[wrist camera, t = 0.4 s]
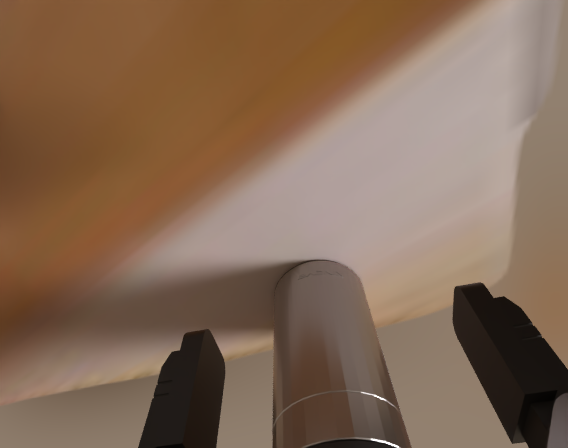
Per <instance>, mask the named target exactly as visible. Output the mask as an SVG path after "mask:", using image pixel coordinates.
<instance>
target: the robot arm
mask: <svg viewBox="0 0 568 448" xmlns="http://www.w3.org/2000/svg"><path fill="white" fill-rule="evenodd" d="M453 326H454V330H455V333H456V335H457V338H458V340H459V342H460V344H461V346H462V347H463V350H464V352H465V353H466V355H467V357H468V359H469V361H470V363H471V365H472V367H473V369H474V371H475V373H476V375H477V377H478V379H479V381H480V383H481V384H482V386H483V388H484V390H485V392H486V394H487V396H488V398H489V400H490V402H491V404H492V405H493V408H494V409H495V412H496V413H497V415H498V417H499V419H500V421H501V423H502V425H503V427H504V429H505V431H506V432H507V435H508V436H509V439H510V441H511V442H512V444H513V443H522V442H526V443H527V445H528V447H529V448H568V369H567V368H566V367H565V365H564V364H563V363H562V361H561V360H560V359H559V357H558V356H557V355H556V353H555V352H554V351H553V350H552V348H551V347H550V346H549V344H548V343H547V342H546V340H545V339H544V338H542V336H541V334H540V332H539V331H538V330H537V328H536V327H535V326H533V325H532V322H531V321H530V319H529V318H528V317H527V315H526V314H525V313H524V311H523V310H522V309H521V308H520V307H519V306H517V305H516V304H514V303H513V302H512V301H510V300H509V299H507V298H506V297H504V296H503V297H498V298H493V296H492V295H491V294H490V292H489V291H488V289H487V288H486V287H485V285H484V284H483V283H481V282H480V283H473V284H468V285H462V286H456V287H455V289H454V302H453ZM224 380H225V363H224V359H223V356H222V354H221V352H220V350H219V348H218V346H217V344H216V342H215V339H214V337H213V335H212V333H211V332H210V330H209V329H206V330H200V331H194V332H188V333H186V334H185V335H184V337H183V341H182V345H181V348H180V351H174V352H171V354H170V355H169V357H168V358H167V360H166V361H165V363H164V364H163V366H162V368H161V372H160V375H159V379H158V385H157V386H156V389H155V392H154V398H153V399H152V402H151V406H150V410H149V413H148V417H147V419H146V423H145V426H144V430H143V433H142V437H141V440H140V443H139V447H138V448H216V444H217V436H218V428H219V420H220V412H221V404H222V396H223V388H224ZM272 434H273V448H412V447H411V444H410V440H409V437H408V434H407V431H406V427H405V424H404V421H403V419H402V415H401V412H400V408H399V405H398V402H397V398H396V395H395V392H394V388H393V385H392V382H391V378H390V375H389V372H388V369H387V366H386V362H385V359H384V355H383V352H382V349H381V345H380V342H379V339H378V336H377V332H376V329H375V326H374V322H373V319H372V316H371V312H370V309H369V305H368V302H367V299H366V295H365V292H364V289H363V286H362V283H361V281H360V279H359V277H358V276H357V275H356V274H355V273H354V272H353V271H352V270H351V269H349V268H348V267H346V266H344V265H342V264H339V263H336V262H331V261H312V262H307V263H304V264H301V265H298V266H296V267H295V268H293V269H291V270H290V271H288V272H287V273H286V274H285V275H284V276H283V277H282V278H281V280H280V281H279V282H278V285H277V287H276V290H275V295H274V353H273V429H272Z"/></svg>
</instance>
